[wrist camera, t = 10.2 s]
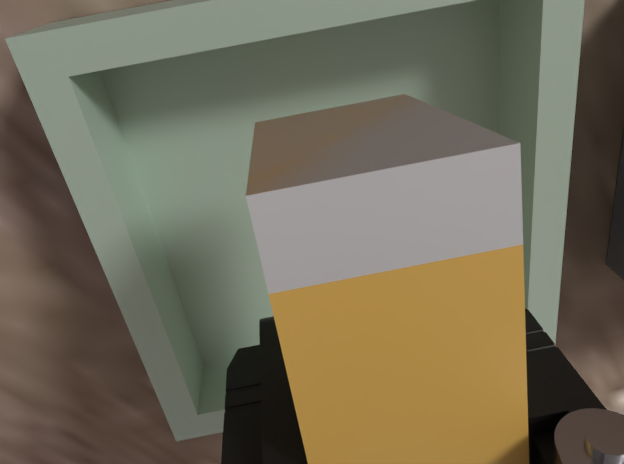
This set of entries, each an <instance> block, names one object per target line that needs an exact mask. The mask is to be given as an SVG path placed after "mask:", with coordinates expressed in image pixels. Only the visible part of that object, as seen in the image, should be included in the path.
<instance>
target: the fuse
mask: <svg viewBox="0 0 624 464" xmlns="http://www.w3.org/2000/svg"><path fill="white" fill-rule="evenodd" d="M246 199H247V204H248V208H249V212H250V217H251V221H252V225H253V230H254V234H255V238H256V242H257V247H258V251H259V255H260V260H261V264H262V268H263V273H264V277H265V281H266V286H267V290H268V294H269V298H270V303H271V307H272V311H273V316H274V320H275V324H276V329H277V333H278V337H279V342H280V346H281V350H282V354H283V359H284V363H285V367H286V372H287V376H288V380H289V385H290V389H291V393H292V398H293V402H294V406H295V410H296V415H297V419H298V423H299V428H300V432H301V436H302V441H303V445H304V449H305V454H306V458H307V462H308V464H529V436H528V400H527V364H526V328H525V292H524V256H523V220H522V184H521V148H520V143H519V142H517V141H514V140H512V139H510V138H507V137H505V136H503V135H500V134H498V133H496V132H493V131H491V130H489V129H486V128H484V127H481V126H479V125H477V124H474V123H472V122H470V121H467V120H465V119H463V118H460V117H458V116H456V115H453V114H451V113H449V112H446V111H444V110H442V109H439V108H437V107H434V106H432V105H430V104H427V103H425V102H423V101H420V100H418V99H416V98H413V97H411V96H409V95H406V94H401V95H396V96H391V97H386V98H380V99H375V100H370V101H365V102H359V103H354V104H349V105H344V106H338V107H333V108H328V109H323V110H317V111H312V112H307V113H302V114H296V115H291V116H286V117H281V118H275V119H270V120H265V121H260V122H255V127H254V134H253V142H252V150H251V158H250V166H249V174H248V182H247V190H246Z"/></svg>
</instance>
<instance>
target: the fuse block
mask: <svg viewBox="0 0 624 464" xmlns="http://www.w3.org/2000/svg"><path fill="white" fill-rule="evenodd" d="M606 265H607V266H609V267H610V268H611V269H612V270H613V271H614V272H615V273H617V274H618V275H619V276H620V277H621V278H622V279H623V280H624V132H623V140H622V147H621V155H620V162H619V170H618V177H617V185H616V192H615V200H614V207H613V215H612V222H611V230H610V237H609V245H608V252H607V260H606Z"/></svg>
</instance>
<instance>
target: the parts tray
mask: <svg viewBox="0 0 624 464" xmlns="http://www.w3.org/2000/svg"><path fill="white" fill-rule="evenodd" d="M584 2H585V0H171V1H166V2H160V3H155V4H150V5H144V6H139V7H133V8H128V9H123V10H117V11H112V12H107V13H101V14H96V15H90V16H85V17H80V18H74V19H69V20H64V21H58V22H53V23H49V24H46V25H43V26H41V27H38V28H35V29H32V30H29V31H26V32H23V33H20V34H17V35H14V36H11V37H8V38H5V40H6V42H7V45H8V47H9V49H10V52H11V54H12V56H13V59H14V61H15V63H16V66H17V68H18V70H19V73H20V75H21V78H22V80H23V82H24V85H25V87H26V89H27V92H28V94H29V96H30V99H31V101H32V103H33V106H34V108H35V110H36V113H37V115H38V118H39V120H40V122H41V125H42V127H43V129H44V132H45V134H46V136H47V139H48V141H49V143H50V146H51V148H52V150H53V153H54V155H55V158H56V160H57V162H58V165H59V167H60V169H61V172H62V174H63V176H64V179H65V181H66V183H67V186H68V188H69V190H70V193H71V195H72V198H73V200H74V202H75V205H76V207H77V209H78V212H79V214H80V216H81V219H82V221H83V223H84V226H85V228H86V230H87V233H88V235H89V238H90V240H91V242H92V245H93V247H94V249H95V252H96V254H97V256H98V259H99V261H100V263H101V266H102V268H103V270H104V273H105V275H106V278H107V280H108V282H109V285H110V287H111V289H112V292H113V294H114V296H115V299H116V301H117V303H118V306H119V308H120V310H121V313H122V315H123V318H124V320H125V322H126V325H127V327H128V329H129V332H130V334H131V336H132V339H133V341H134V343H135V346H136V348H137V350H138V353H139V355H140V358H141V360H142V362H143V365H144V367H145V369H146V372H147V374H148V376H149V379H150V381H151V383H152V386H153V388H154V390H155V393H156V395H157V398H158V400H159V402H160V405H161V407H162V409H163V412H164V414H165V416H166V419H167V421H168V423H169V426H170V428H171V430H172V433H173V435H174V438H175V440H176V441H181V440H186V439H191V438H196V437H201V436H206V435H211V434H216V433H221V432H223V425H224V413H225V394H226V374H227V368H228V366H229V364H230V362H231V361H232V359H233V357H234V355H235V353H236V352H237V350H238V349H240V348H245V347H250V346H255V345H260V337H259V320H260V319H262V318H267V317H272V316H273V311H272V307H271V303H270V298H269V294H268V290H267V286H266V281H265V277H264V273H263V268H262V264H261V260H260V255H259V251H258V247H257V242H256V238H255V234H254V230H253V225H252V221H251V217H250V212H249V208H248V204H247V199H246V190H247V182H248V174H249V166H250V158H251V150H252V142H253V134H254V127H255V122H260V121H265V120H270V119H275V118H281V117H286V116H291V115H296V114H302V113H307V112H312V111H317V110H323V109H328V108H333V107H338V106H344V105H349V104H354V103H359V102H365V101H370V100H375V99H380V98H386V97H391V96H396V95H401V94H406V95H409V96H411V97H413V98H416V99H418V100H420V101H423V102H425V103H427V104H430V105H432V106H434V107H437V108H439V109H442V110H444V111H446V112H449V113H451V114H453V115H456V116H458V117H460V118H463V119H465V120H467V121H470V122H472V123H474V124H477V125H479V126H481V127H484V128H486V129H489V130H491V131H493V132H496V133H498V134H500V135H503V136H505V137H507V138H510V139H512V140H514V141H517V142H519V143H520V148H521V184H522V220H523V256H524V292H525V308H526V309H528V310H529V311H530V312H531V314H532V315H533V316H534V318H535V319H536V320H537V321H538V323H539V324H540V325H541V327H542V328H543V331H544V332H546V333H547V334H548V336H549V337H550V338H551V339H552V341H553V342H554V343H556V331H557V320H558V308H559V296H560V284H561V273H562V261H563V249H564V237H565V225H566V214H567V202H568V190H569V178H570V167H571V155H572V143H573V131H574V120H575V108H576V96H577V84H578V73H579V61H580V49H581V37H582V26H583V14H584Z"/></svg>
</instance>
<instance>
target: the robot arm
mask: <svg viewBox="0 0 624 464" xmlns="http://www.w3.org/2000/svg"><path fill="white" fill-rule="evenodd" d="M525 328H526V364H527V400H528V436H529V464H624V415H622V414H619V413H617V412H613V411H609V410H607V409H606V408H605V407H604V406H603V405H602V403H601V402H600V401H599V400H598V398H597V397H596V396H595V394H594V393H593V392H592V391H591V389H590V388H589V387H588V385H587V384H586V383H585V382H584V380H583V379H582V378H581V377H580V375H579V374H578V373H577V371H576V370H575V369H574V368H573V366H572V365H571V364H570V362H569V361H568V360H567V359H566V357H565V356H564V355H563V353H562V352H561V351H560V350H559V348H558V347H555V343H554V342H553V341H552V339H551V338H550V337H549V336H548V334H547V333H546V332H544V331H543V328H542V327H541V325H540V324H539V323H538V321H537V320H536V319H535V318H534V316H533V315H532V314H531V312H530V311H529V310H528V309H526V308H525ZM259 337H260V345H255V346H250V347H245V348H240V349H238V350H237V352H236V353H235V355H234V357H233V359H232V361H231V362H230V364H229V366H228V368H227V374H226V394H225V413H224V425H223V443H222V460H221V464H308V462H307V458H306V454H305V449H304V445H303V441H302V436H301V432H300V428H299V423H298V419H297V415H296V410H295V406H294V402H293V398H292V393H291V389H290V385H289V380H288V376H287V372H286V367H285V363H284V359H283V354H282V350H281V346H280V342H279V337H278V333H277V329H276V324H275V320H274V316H272V317H267V318H262V319H260V320H259Z"/></svg>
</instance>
